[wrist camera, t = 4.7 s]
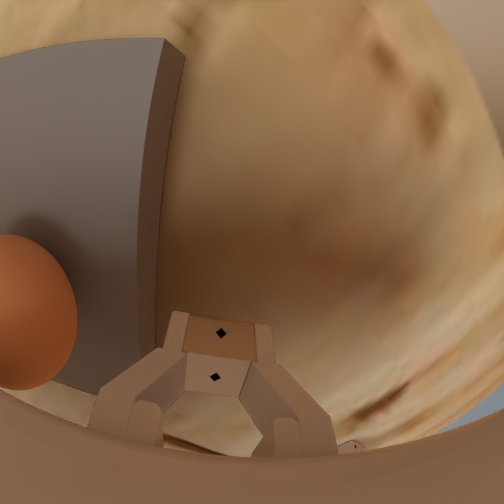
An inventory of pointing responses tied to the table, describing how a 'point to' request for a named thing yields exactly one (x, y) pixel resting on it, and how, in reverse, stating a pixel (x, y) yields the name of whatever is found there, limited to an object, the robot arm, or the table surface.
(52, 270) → the ball
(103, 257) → the pocket board
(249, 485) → the robot arm
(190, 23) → the table surface
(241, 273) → the table surface
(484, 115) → the table surface
